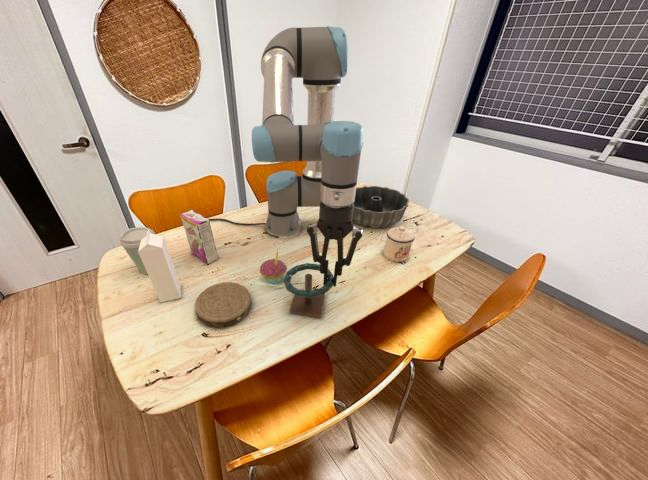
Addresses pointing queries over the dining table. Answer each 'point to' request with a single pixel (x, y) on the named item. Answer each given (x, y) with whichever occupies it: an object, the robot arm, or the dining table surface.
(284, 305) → the dining table surface
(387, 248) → the teacup with lid
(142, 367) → the dining table surface
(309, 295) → the ring
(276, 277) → the cupcake
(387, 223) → the bundt pan
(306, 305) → the post
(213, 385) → the dining table surface
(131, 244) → the disposable coffee cup
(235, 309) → the wood slice
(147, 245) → the milk
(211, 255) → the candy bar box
